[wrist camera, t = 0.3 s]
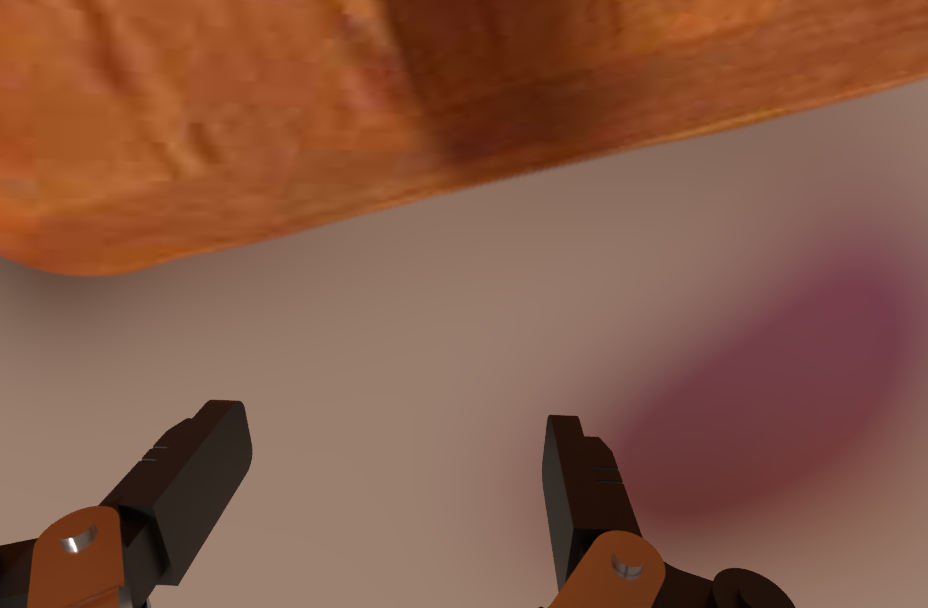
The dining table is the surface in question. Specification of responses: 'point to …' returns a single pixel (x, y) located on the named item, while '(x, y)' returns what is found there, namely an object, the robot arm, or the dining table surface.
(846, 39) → the dining table surface
